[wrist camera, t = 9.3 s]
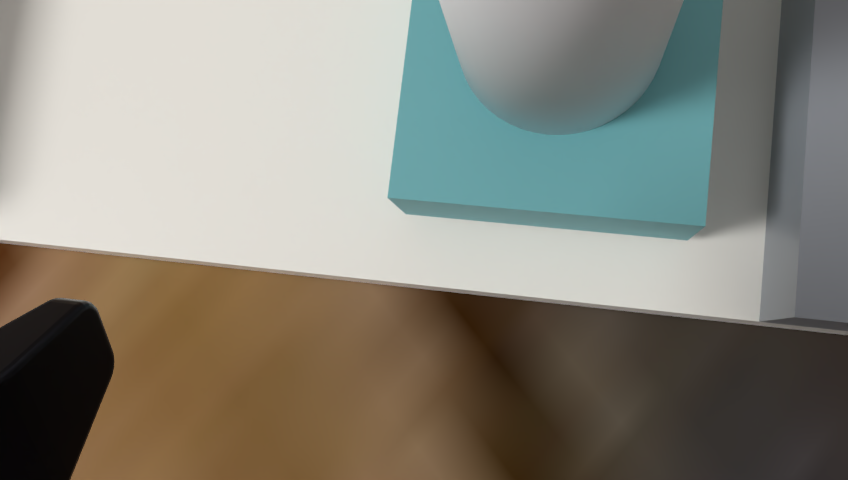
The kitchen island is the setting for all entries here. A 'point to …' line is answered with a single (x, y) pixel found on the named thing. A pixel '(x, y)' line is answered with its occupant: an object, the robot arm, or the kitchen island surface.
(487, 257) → the rail
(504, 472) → the kitchen island surface
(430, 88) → the carriage
